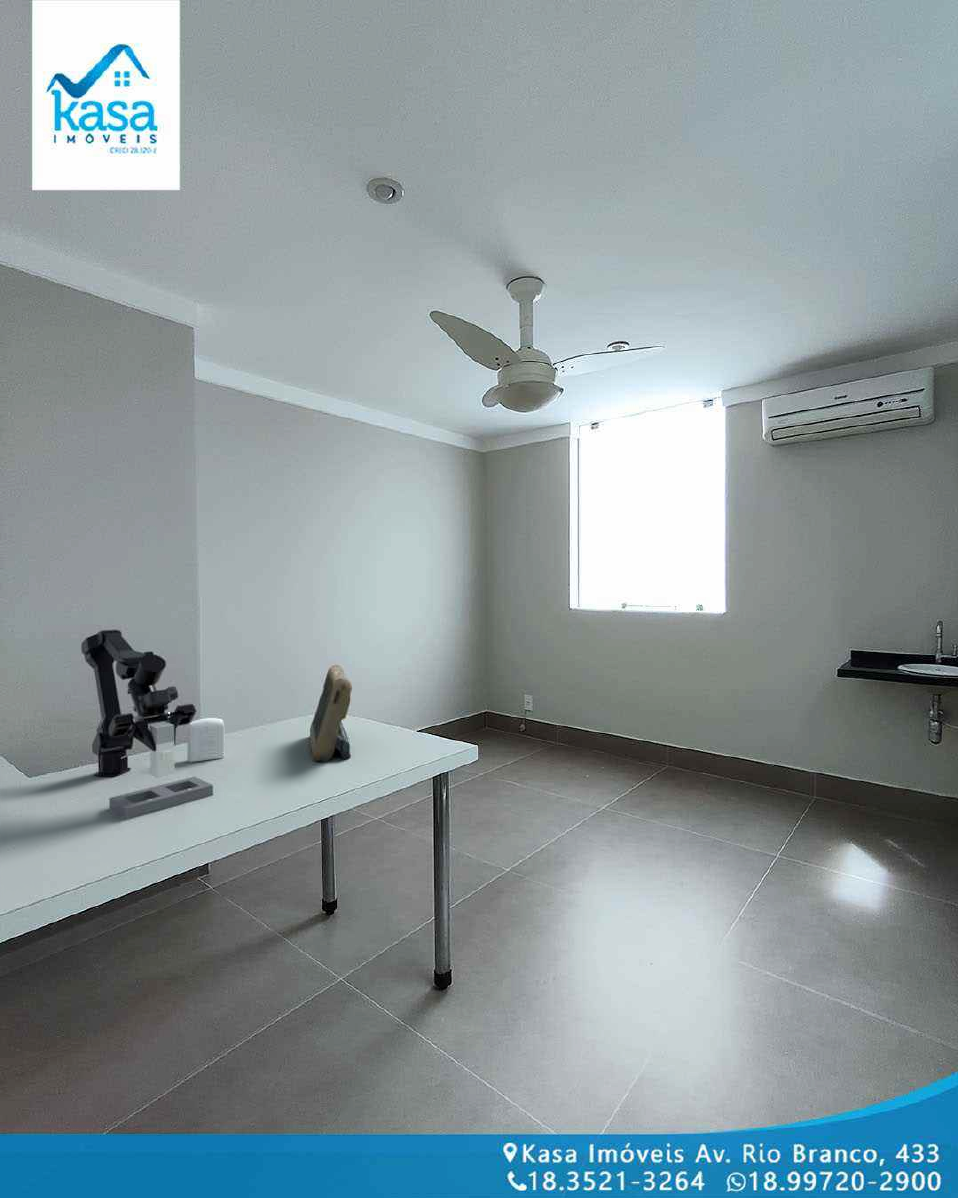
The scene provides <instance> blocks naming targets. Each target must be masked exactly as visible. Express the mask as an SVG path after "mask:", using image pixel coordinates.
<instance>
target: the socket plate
mask: <svg viewBox="0 0 958 1198" xmlns="http://www.w3.org/2000/svg"><path fill="white" fill-rule="evenodd" d="M213 795H214V785H213V784H212V783H210V782H208V781H205V780H203V779H200V778H199V777H196V776H191V777H188V778H184V779H179V780H176V781H171V782H167V783H164V784H159V785H156V786H152V787H148V788H144V789H141V790H136V791H135V790H134V791H133V792H127V793H124V794H120V795H116V796H113V797H109V798H108V799H109V803H108V804H109V809H110V810H111V811H112V812H114V813H116V814H117V815H119V816H120V817H121V818H123V819H125V820H128V819H129V820H130V819H133V818H135V817H141V816H143V815H147V814H151V813H153V812H158V811H162V810H165V809H168V808H172V807H174V806H179V805H182V804H186V803H189V802H192V801H193V802H194V801H197V800H200V799H203V798H207V797H211V796H213Z"/></svg>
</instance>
